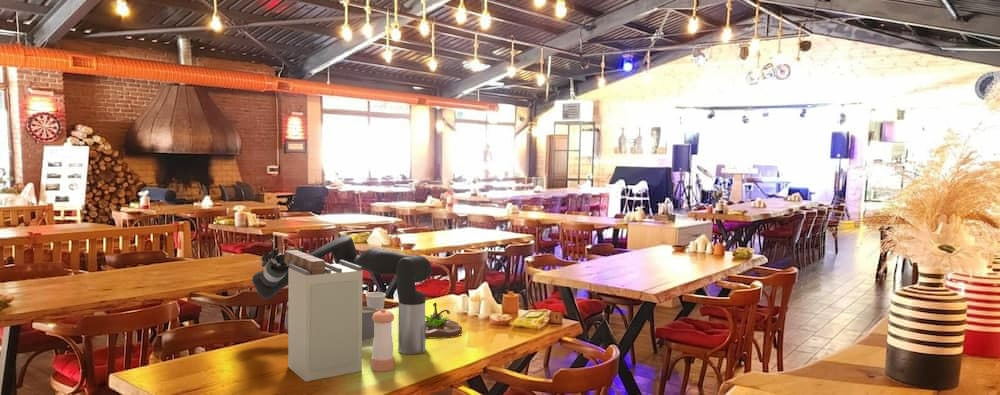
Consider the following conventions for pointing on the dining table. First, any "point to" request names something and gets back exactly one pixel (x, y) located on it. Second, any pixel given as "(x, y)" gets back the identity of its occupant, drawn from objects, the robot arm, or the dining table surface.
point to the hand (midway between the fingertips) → (289, 250)
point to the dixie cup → (375, 300)
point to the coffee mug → (368, 322)
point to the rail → (305, 261)
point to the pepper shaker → (382, 341)
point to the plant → (441, 325)
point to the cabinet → (325, 321)
